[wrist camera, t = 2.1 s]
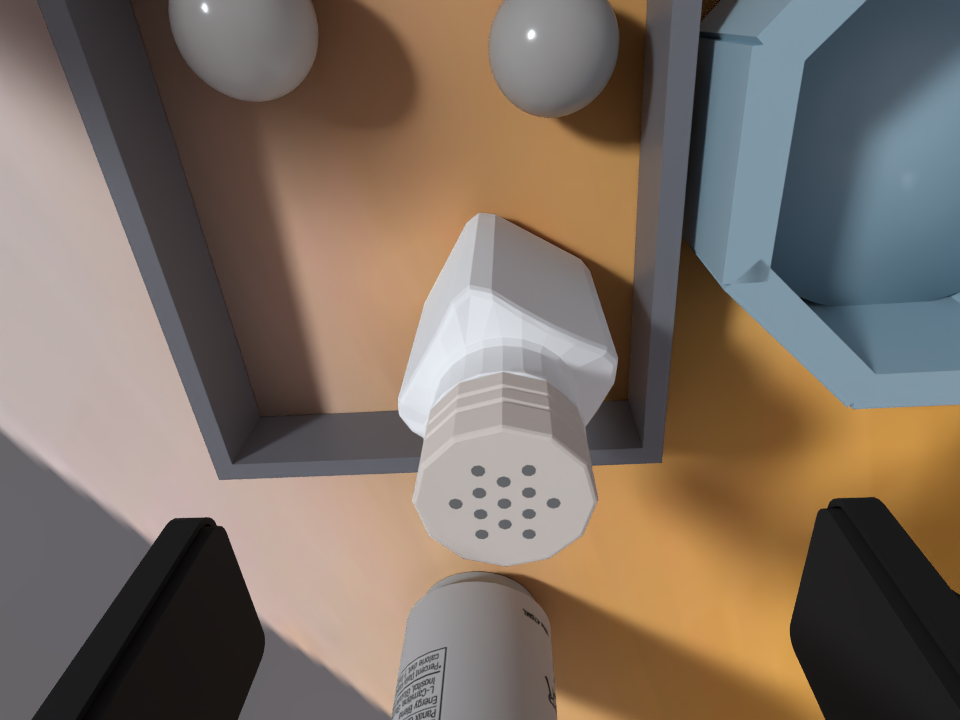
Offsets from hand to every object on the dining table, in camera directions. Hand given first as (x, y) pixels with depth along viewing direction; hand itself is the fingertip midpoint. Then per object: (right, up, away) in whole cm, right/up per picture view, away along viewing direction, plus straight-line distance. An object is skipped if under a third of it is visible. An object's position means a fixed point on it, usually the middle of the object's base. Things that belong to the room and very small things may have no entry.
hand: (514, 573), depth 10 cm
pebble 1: (-6, +12, +6) cm, 14 cm away
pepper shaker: (0, +6, +9) cm, 11 cm away
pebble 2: (+1, +11, +6) cm, 13 cm away
